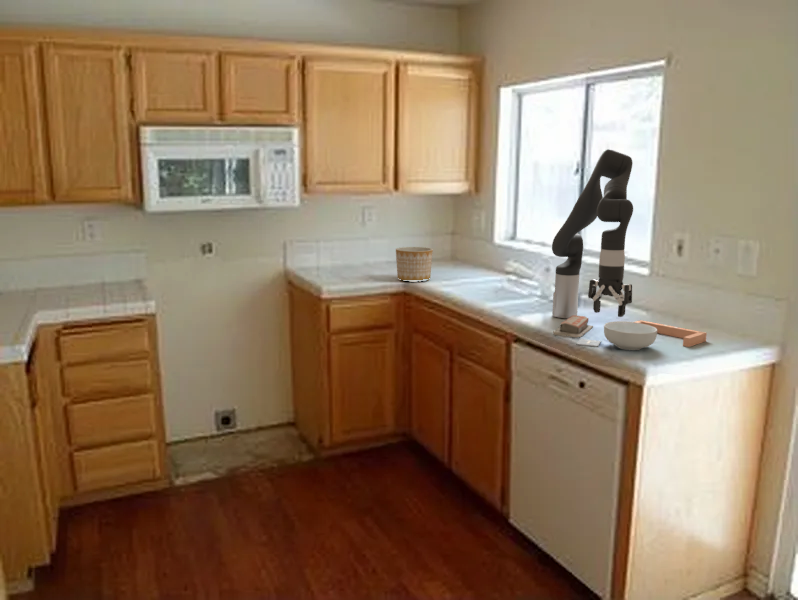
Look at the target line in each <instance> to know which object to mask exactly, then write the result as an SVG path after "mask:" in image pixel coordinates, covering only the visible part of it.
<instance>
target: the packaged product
mask: <svg viewBox="0 0 798 600" xmlns="http://www.w3.org/2000/svg"><path fill="white" fill-rule="evenodd" d="M593 327H594V325H589V317H587V316H585V315H584V316H583V315H577V316H576V315H573V316H571V317H570V318H565V320H564V321H562V322H560V324H559V326H558V328H556V329H555V330H553V335H554V336H563V337H569V336H570V338H577V337H581V336H582V337H583V336H584V335H585V333H586V332H587V333H589V332H590V330H591V329H593ZM587 333H586V334H587ZM582 337H581V338H582Z"/></svg>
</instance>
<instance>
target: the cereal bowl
mask: <svg viewBox="0 0 798 600" xmlns="http://www.w3.org/2000/svg"><path fill="white" fill-rule="evenodd" d="M635 322H636V321H622V320H621V321H620V320H619V321H609V322H607V323H604V325H603V334H604V337H605V339H606V340H607V341H608V342H609V343H611V344H612V345H614V346H616V347H617V348H618V349H620V350H626V351H640V350H642V349H643V348H647V347H650V346H651V345H652V344H653V343H654V342H655V341H656V339H657V335H658V333H657V329H656V328H655V327H653V326H650V325H646V324H642V323H635Z"/></svg>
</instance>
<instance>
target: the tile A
mask: <svg viewBox="0 0 798 600" xmlns="http://www.w3.org/2000/svg"><path fill="white" fill-rule="evenodd" d="M600 342H601V343H602V341H601V340H594V339H585V338H579V339H578V341H577V342H576V345H577V346H584V347H592V348H593V347H594V348H598V347H599V345H600V344H601V343H600Z"/></svg>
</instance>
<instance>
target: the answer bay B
mask: <svg viewBox="0 0 798 600" xmlns="http://www.w3.org/2000/svg"><path fill="white" fill-rule="evenodd" d="M634 322H635V323H642V324H646V325H650V326H653V327H655V328H656V329H657V334H661V335H666V336H670V337H675V338H680V339H683V341H682V346H683V347H686V348H691V347H693V346H695V345H699V344H702V343H705V342H706V341H707V335H708V334H707V332H705V331H700V330H694V329H689V328H688V329H687V328H682V327H679V326H673V325H669V324H662V323H656V322H651V321H648V320H641V319H640V320H635V321H634Z"/></svg>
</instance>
